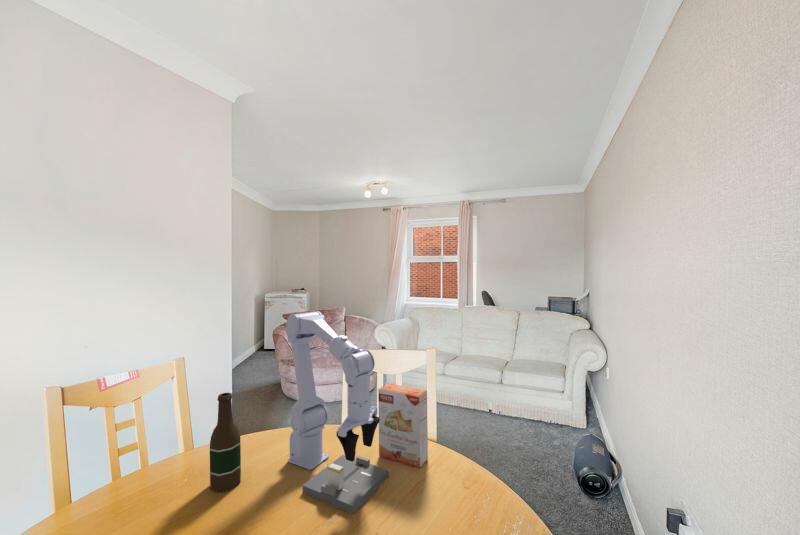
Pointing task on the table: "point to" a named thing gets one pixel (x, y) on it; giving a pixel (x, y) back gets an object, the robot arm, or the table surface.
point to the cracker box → (403, 424)
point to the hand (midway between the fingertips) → (359, 452)
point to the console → (348, 484)
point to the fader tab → (335, 476)
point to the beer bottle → (225, 448)
